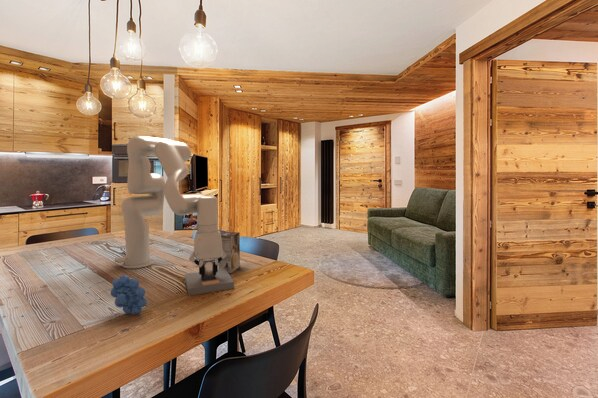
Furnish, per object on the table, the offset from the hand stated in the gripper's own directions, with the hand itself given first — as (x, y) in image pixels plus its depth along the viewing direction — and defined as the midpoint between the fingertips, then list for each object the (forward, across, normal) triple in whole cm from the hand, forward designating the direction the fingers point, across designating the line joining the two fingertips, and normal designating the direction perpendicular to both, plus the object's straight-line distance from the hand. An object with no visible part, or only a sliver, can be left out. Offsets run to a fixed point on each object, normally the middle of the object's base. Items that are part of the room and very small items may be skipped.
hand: (208, 274), depth 111 cm
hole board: (+4, 0, 0) cm, 4 cm away
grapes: (+4, -26, -15) cm, 30 cm away
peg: (+1, 0, 0) cm, 1 cm away
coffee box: (+4, +11, +14) cm, 18 cm away
